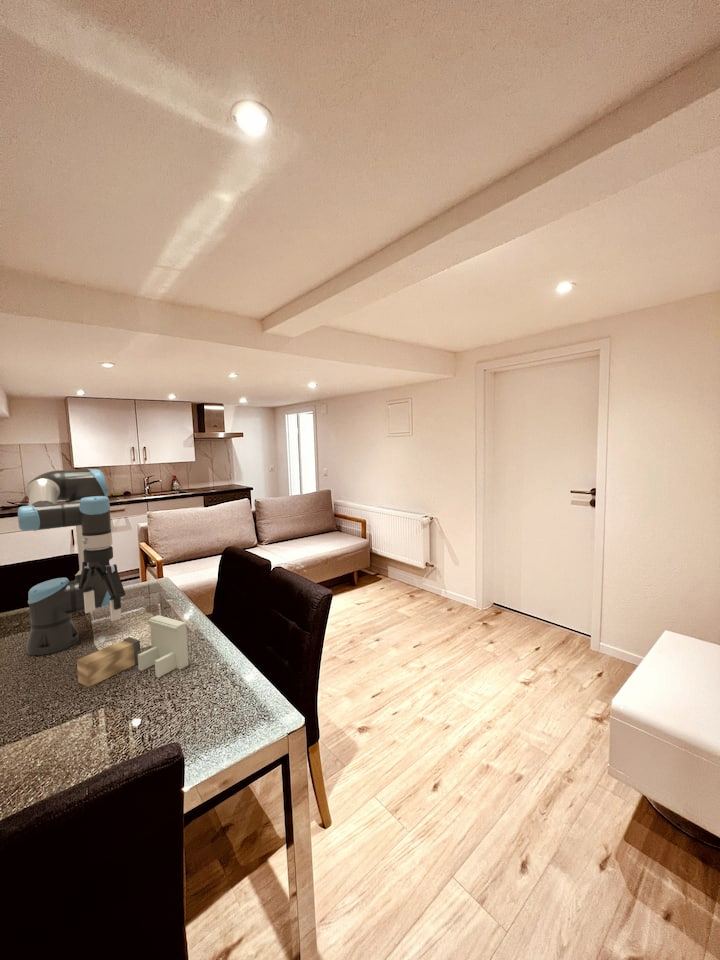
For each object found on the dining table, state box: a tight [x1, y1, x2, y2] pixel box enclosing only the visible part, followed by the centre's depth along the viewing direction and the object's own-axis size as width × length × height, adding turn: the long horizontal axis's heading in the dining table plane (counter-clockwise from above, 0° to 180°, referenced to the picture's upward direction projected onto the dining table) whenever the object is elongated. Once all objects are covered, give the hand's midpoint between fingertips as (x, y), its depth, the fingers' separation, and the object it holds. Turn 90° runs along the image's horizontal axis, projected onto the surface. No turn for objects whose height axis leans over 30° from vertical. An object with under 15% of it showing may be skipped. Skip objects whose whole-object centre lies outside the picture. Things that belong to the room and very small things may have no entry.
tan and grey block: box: [76, 636, 142, 688], centre depth 126 cm, size 16×6×7 cm, turn 151°
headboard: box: [137, 614, 189, 678], centre depth 128 cm, size 14×9×14 cm, turn 61°
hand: (103, 615), depth 124 cm, fingers open, 13 cm apart
